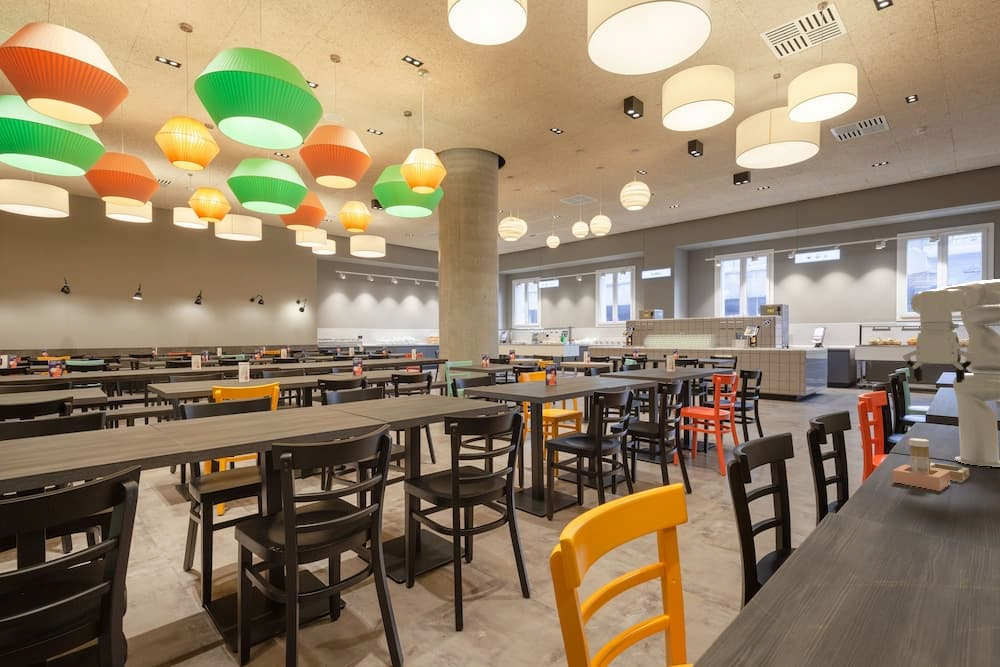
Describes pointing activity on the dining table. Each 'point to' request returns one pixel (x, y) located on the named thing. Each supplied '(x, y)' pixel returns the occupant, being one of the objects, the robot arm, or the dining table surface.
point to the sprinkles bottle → (919, 455)
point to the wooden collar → (953, 471)
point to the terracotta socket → (922, 478)
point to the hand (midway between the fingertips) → (938, 381)
